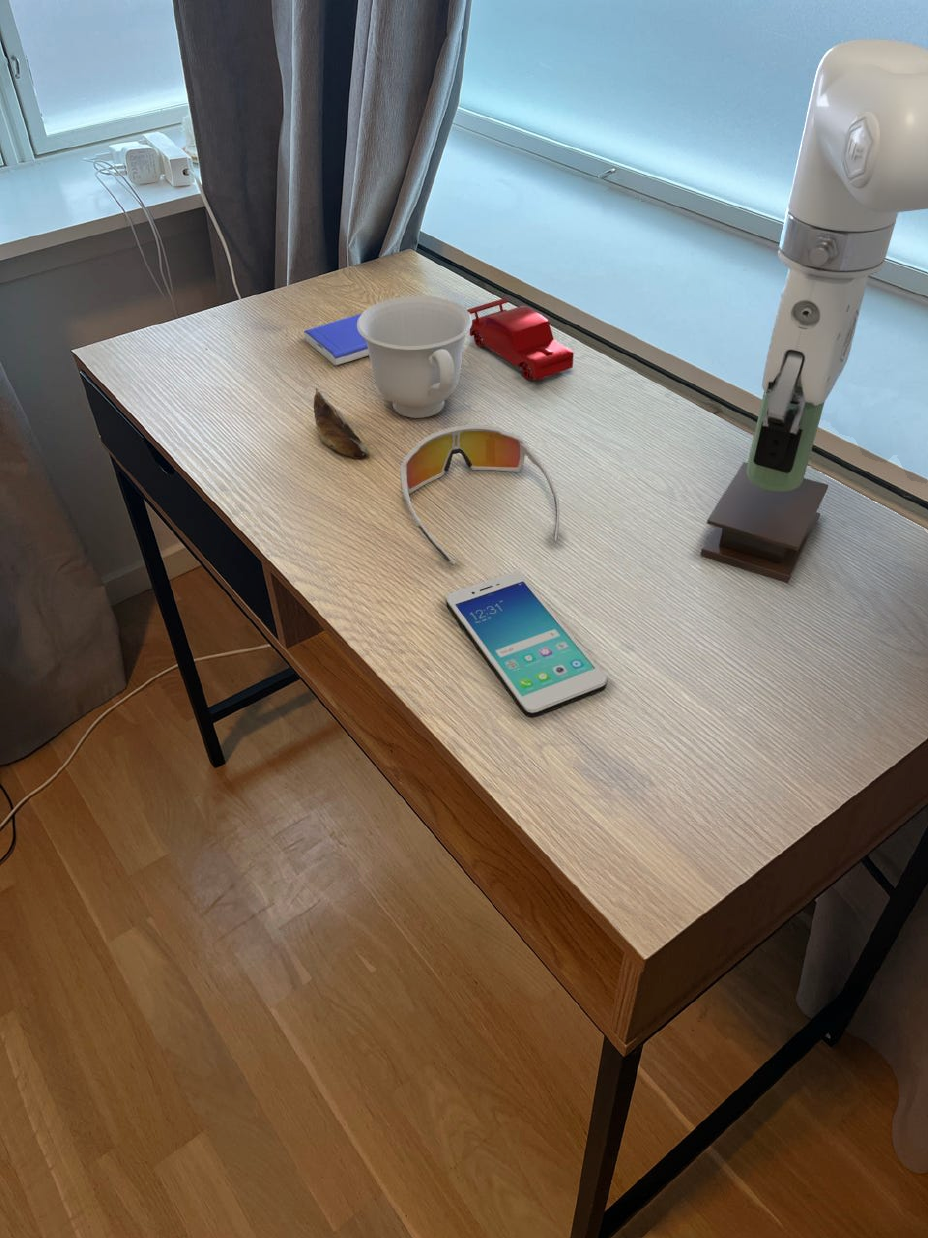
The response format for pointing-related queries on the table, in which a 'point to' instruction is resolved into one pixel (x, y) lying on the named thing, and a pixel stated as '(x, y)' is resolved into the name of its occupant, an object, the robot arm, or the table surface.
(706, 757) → the table surface
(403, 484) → the sunglasses
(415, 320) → the teacup
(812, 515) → the stand
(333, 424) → the oyster shell
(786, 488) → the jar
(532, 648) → the smartphone
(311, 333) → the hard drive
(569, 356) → the toy car
